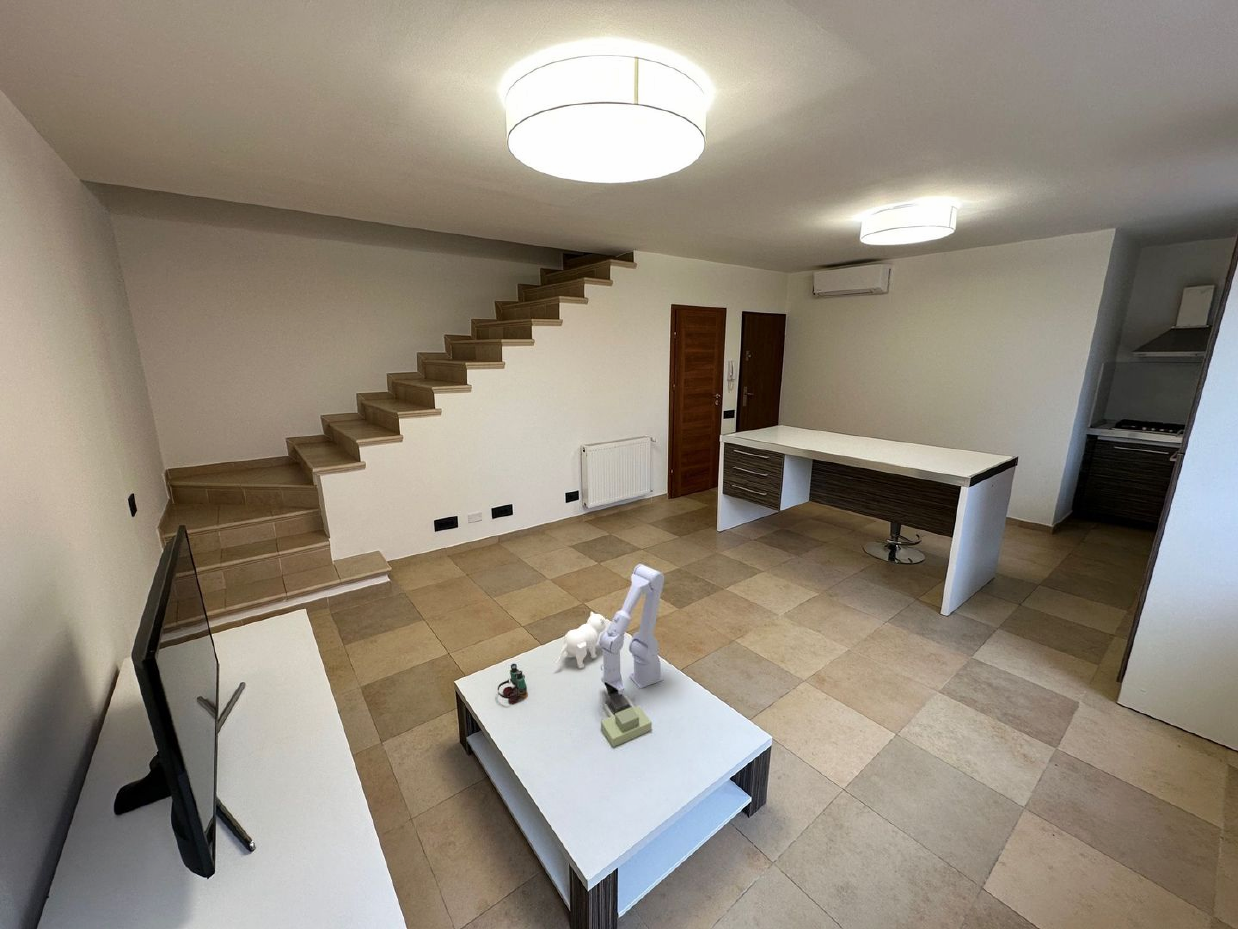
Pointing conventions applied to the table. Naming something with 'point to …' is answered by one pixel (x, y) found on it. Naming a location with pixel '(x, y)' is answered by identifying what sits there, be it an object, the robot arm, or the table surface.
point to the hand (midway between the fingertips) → (613, 698)
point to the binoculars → (515, 685)
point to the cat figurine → (583, 639)
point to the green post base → (625, 724)
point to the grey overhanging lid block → (617, 702)
